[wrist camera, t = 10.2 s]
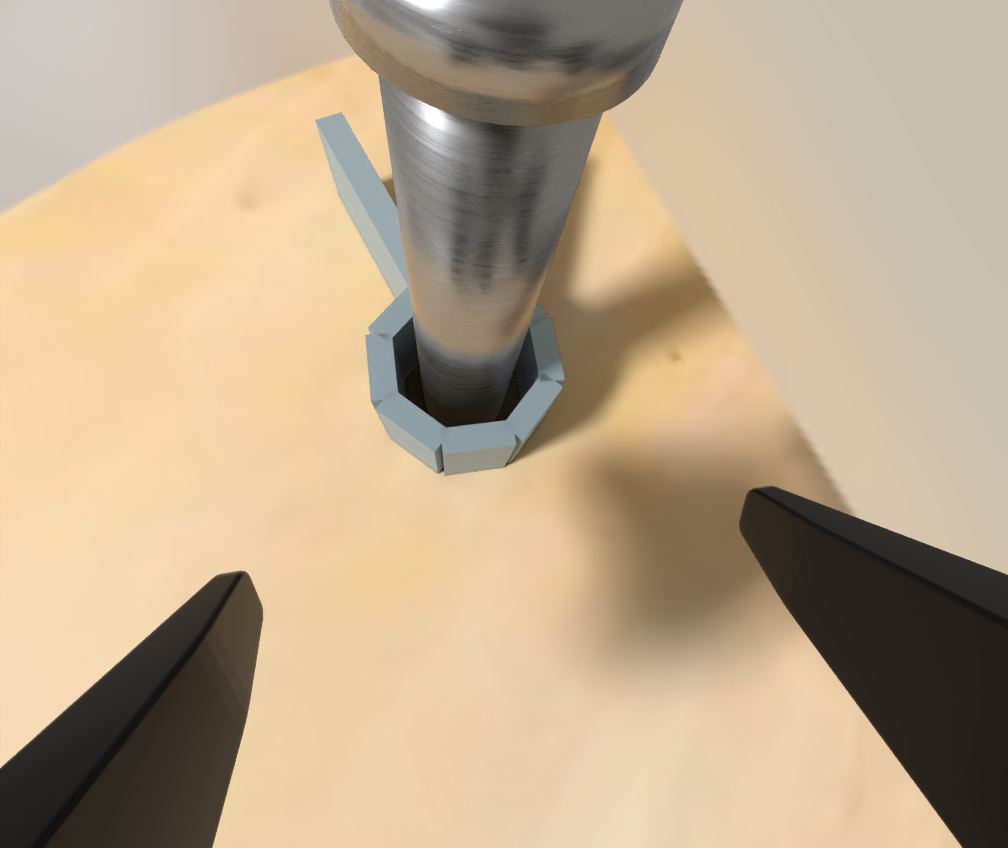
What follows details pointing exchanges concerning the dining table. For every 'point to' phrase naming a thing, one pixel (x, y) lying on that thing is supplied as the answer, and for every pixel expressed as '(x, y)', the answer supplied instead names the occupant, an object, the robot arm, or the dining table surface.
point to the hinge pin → (491, 159)
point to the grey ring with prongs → (397, 343)
